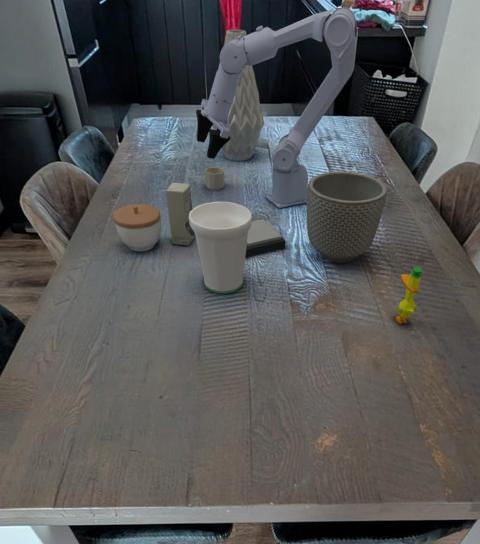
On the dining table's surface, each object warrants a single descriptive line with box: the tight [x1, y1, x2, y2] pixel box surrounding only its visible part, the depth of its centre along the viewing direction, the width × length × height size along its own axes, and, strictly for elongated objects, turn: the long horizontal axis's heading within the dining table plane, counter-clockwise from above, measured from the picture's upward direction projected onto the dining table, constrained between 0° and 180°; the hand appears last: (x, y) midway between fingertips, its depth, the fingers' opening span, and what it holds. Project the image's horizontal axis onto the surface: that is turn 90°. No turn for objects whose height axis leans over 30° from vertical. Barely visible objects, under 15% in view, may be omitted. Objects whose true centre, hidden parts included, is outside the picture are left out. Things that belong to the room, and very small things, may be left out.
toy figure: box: [395, 266, 423, 325], centre depth 92 cm, size 7×4×12 cm, turn 13°
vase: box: [212, 28, 265, 162], centre depth 146 cm, size 17×17×33 cm
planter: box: [306, 170, 388, 264], centre depth 108 cm, size 17×17×16 cm
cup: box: [189, 201, 252, 294], centre depth 99 cm, size 12×12×15 cm
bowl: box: [204, 166, 226, 191], centre depth 138 cm, size 6×6×5 cm
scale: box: [245, 218, 287, 259], centre depth 116 cm, size 12×12×3 cm
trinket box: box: [112, 203, 162, 252], centre depth 112 cm, size 11×11×9 cm
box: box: [165, 182, 196, 246], centre depth 112 cm, size 5×4×13 cm
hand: (205, 149), depth 129 cm, fingers open, 7 cm apart
